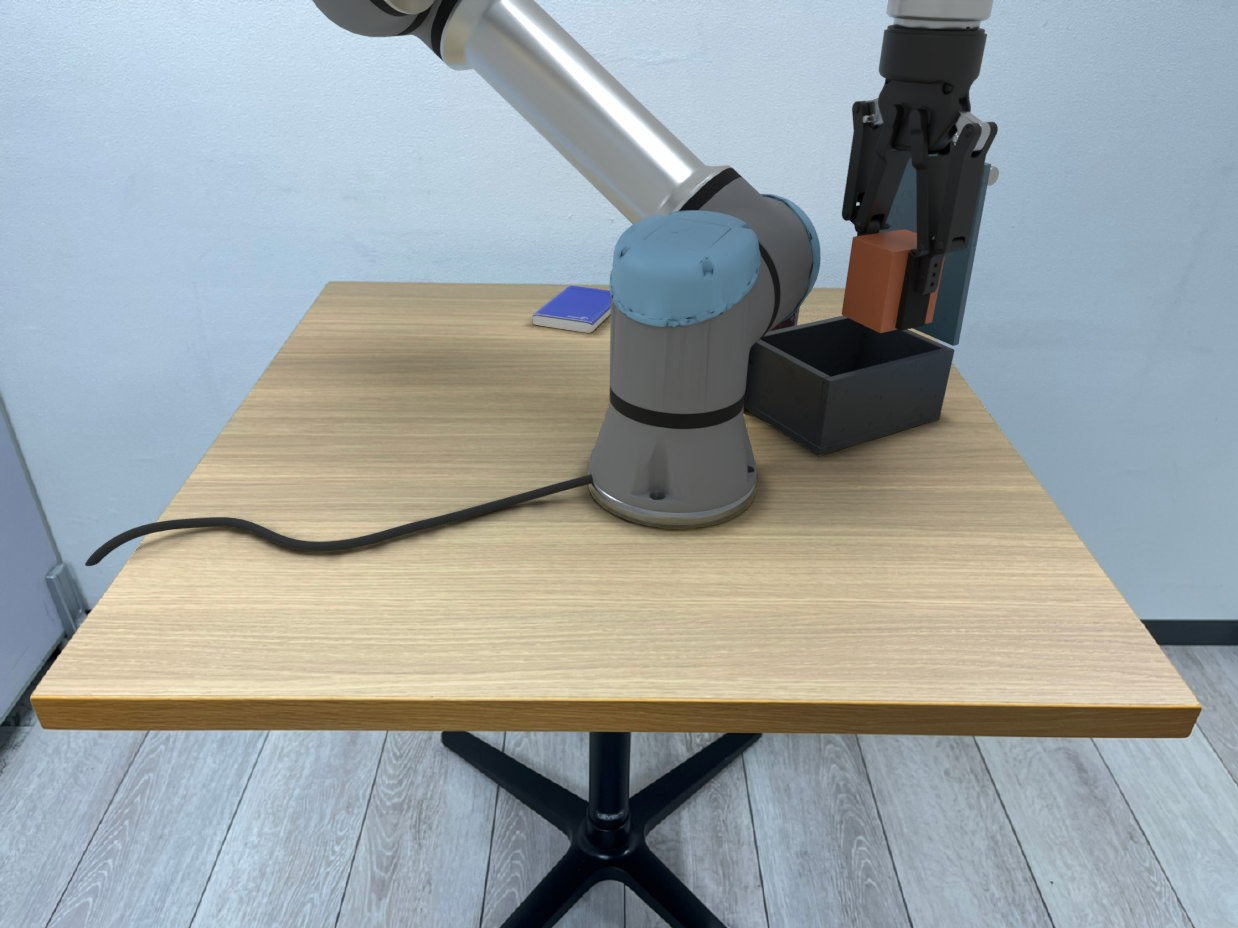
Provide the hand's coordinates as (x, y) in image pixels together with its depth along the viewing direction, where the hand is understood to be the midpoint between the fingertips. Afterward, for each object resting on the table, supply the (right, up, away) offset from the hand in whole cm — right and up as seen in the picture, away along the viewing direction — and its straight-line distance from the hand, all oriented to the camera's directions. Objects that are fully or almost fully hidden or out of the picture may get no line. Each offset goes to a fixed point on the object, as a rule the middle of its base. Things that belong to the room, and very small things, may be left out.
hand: (886, 315), depth 80 cm
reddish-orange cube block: (0, 0, 0) cm, 0 cm away
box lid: (+7, +9, +12) cm, 16 cm away
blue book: (-29, +7, +41) cm, 51 cm away
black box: (0, -8, +17) cm, 18 cm away
